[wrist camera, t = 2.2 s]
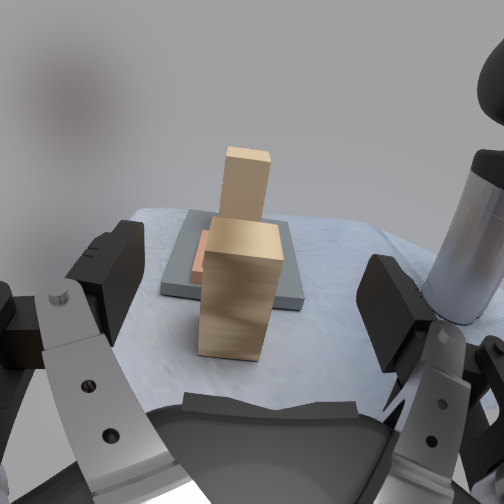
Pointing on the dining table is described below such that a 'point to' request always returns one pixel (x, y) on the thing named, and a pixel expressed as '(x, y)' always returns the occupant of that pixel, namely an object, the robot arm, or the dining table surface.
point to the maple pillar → (238, 287)
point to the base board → (190, 249)
